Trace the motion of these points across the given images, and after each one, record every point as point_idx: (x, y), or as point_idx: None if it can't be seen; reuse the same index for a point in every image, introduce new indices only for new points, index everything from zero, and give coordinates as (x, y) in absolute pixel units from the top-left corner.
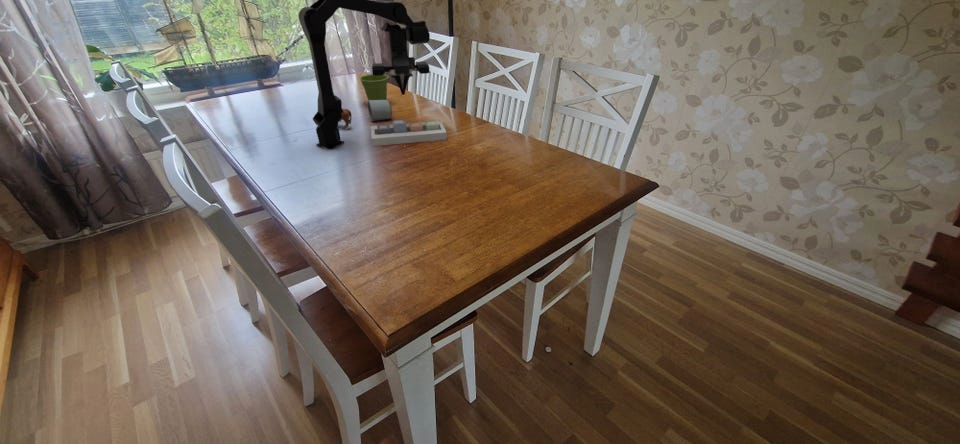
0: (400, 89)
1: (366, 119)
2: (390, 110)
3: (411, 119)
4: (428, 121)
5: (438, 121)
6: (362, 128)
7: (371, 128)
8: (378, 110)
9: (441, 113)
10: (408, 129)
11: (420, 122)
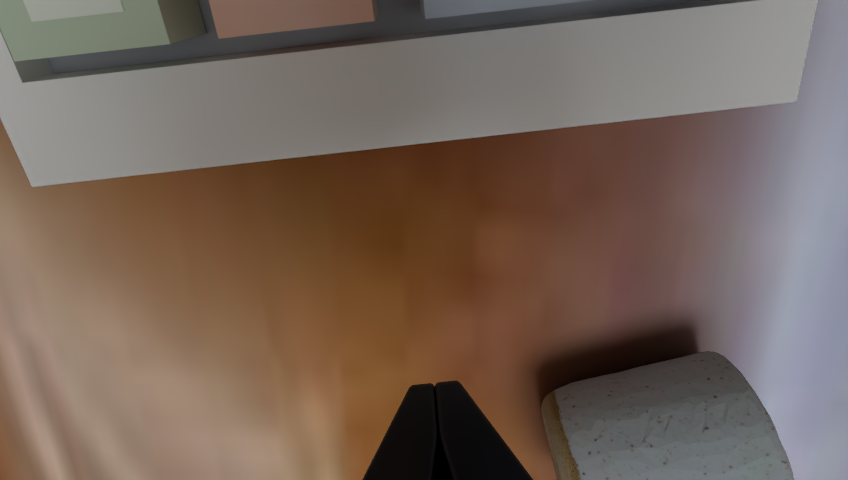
0: (504, 450)
1: None
2: (564, 426)
3: (378, 377)
4: (117, 47)
5: (52, 169)
6: (801, 220)
7: (806, 26)
8: (684, 408)
9: (143, 474)
10: (391, 36)
11: (222, 24)
